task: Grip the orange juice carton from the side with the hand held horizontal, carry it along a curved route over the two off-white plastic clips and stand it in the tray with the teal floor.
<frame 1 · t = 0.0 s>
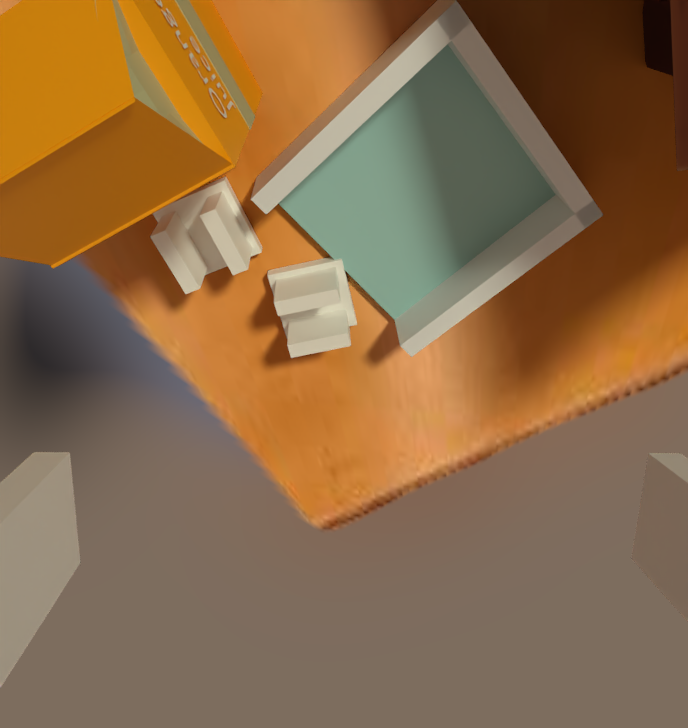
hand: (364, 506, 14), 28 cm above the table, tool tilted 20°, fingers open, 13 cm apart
tray: (412, 191, 38), on the table
orange juice: (160, 66, 34), on the table
clip 1: (209, 227, 39), on the table
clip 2: (313, 295, 42), on the table
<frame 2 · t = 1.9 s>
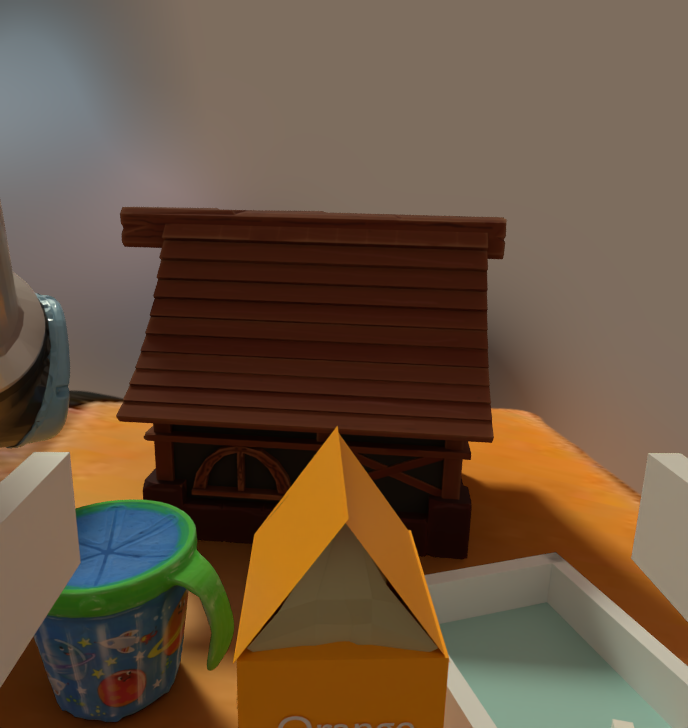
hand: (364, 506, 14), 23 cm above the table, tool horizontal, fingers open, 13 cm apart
tray: (527, 688, 40), on the table
snack cup: (119, 682, 39), on the table
house: (308, 499, 64), on the table
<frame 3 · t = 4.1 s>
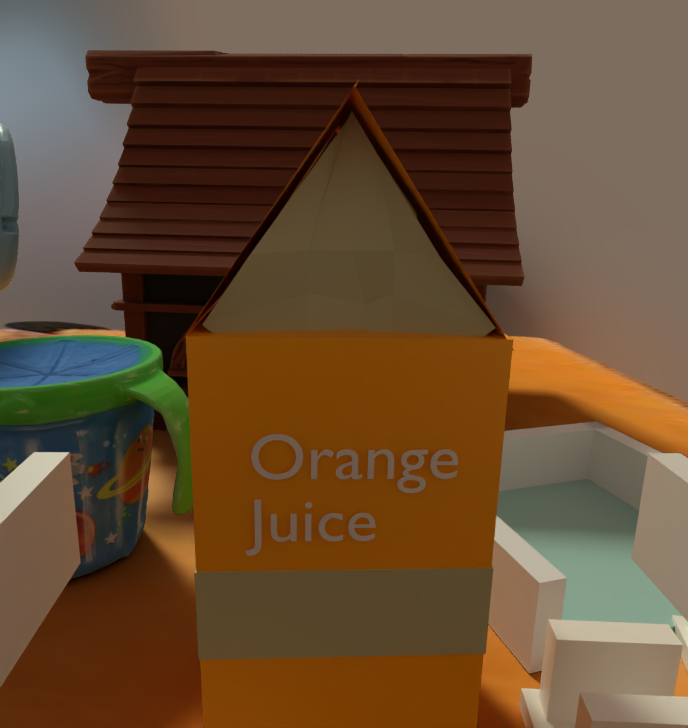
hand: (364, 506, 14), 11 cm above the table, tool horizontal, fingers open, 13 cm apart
tray: (574, 555, 32), on the table
orange juice: (332, 715, 22), on the table
snack cup: (68, 550, 32), on the table
house: (304, 401, 56), on the table
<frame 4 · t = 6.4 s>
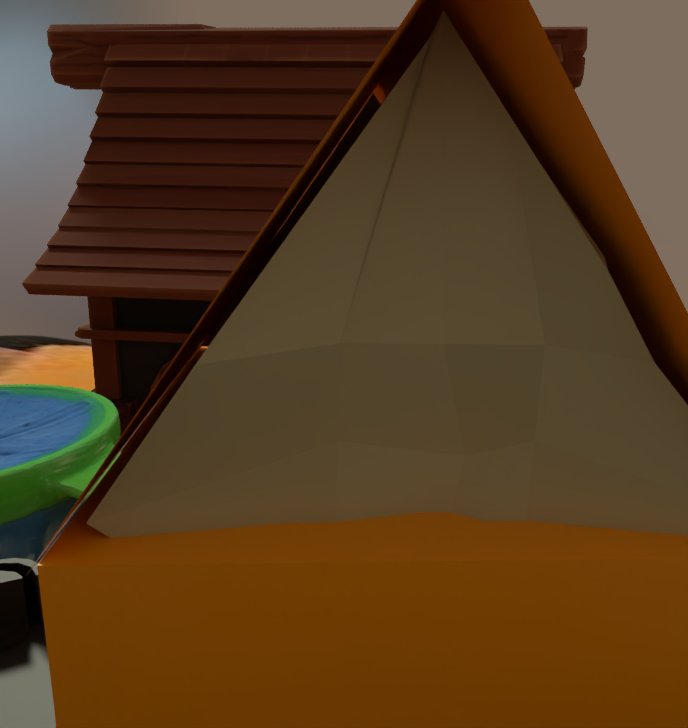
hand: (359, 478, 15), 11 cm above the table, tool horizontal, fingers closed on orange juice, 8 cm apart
house: (309, 439, 48), on the table
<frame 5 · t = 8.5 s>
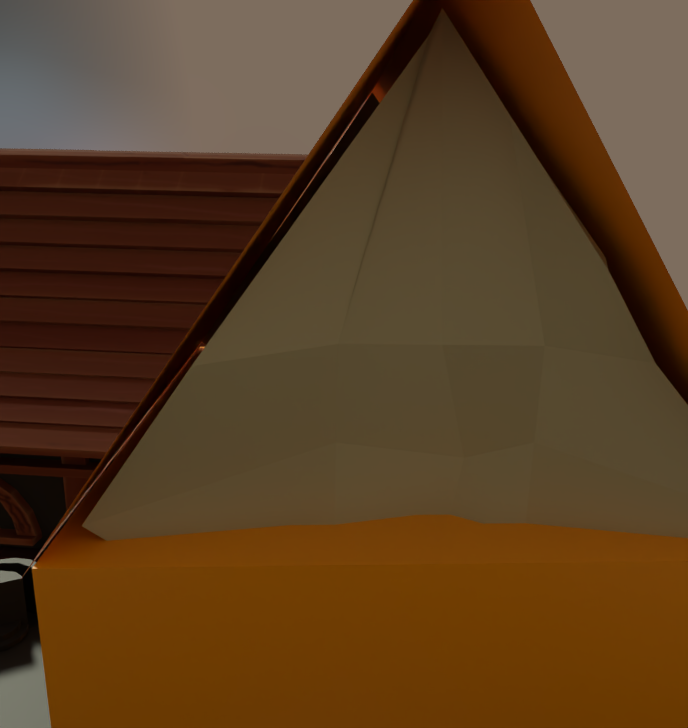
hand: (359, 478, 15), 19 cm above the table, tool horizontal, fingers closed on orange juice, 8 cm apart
house: (108, 534, 49), on the table
when the fingers open (13 cm above the table, at t = 10.8 s): orange juice drops 1 cm, resting on tray.
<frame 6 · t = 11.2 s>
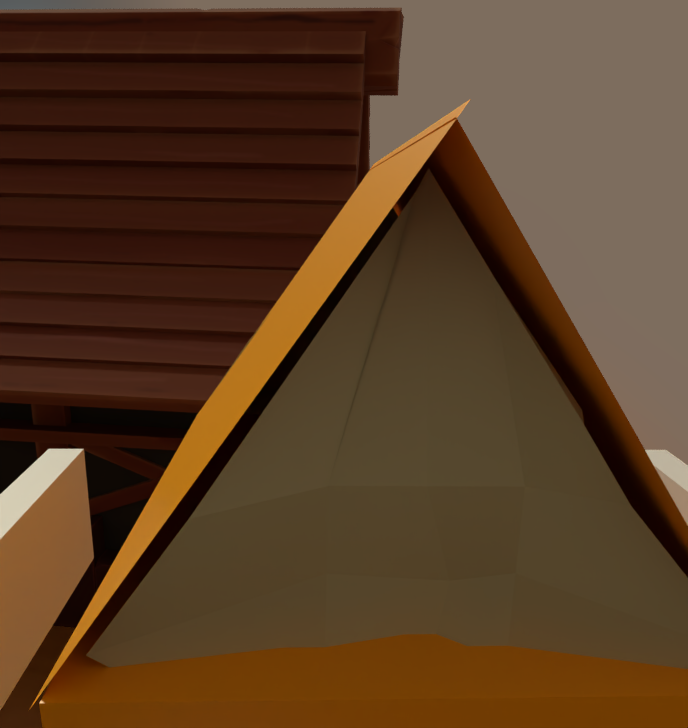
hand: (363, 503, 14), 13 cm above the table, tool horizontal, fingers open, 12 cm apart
house: (103, 526, 39), on the table
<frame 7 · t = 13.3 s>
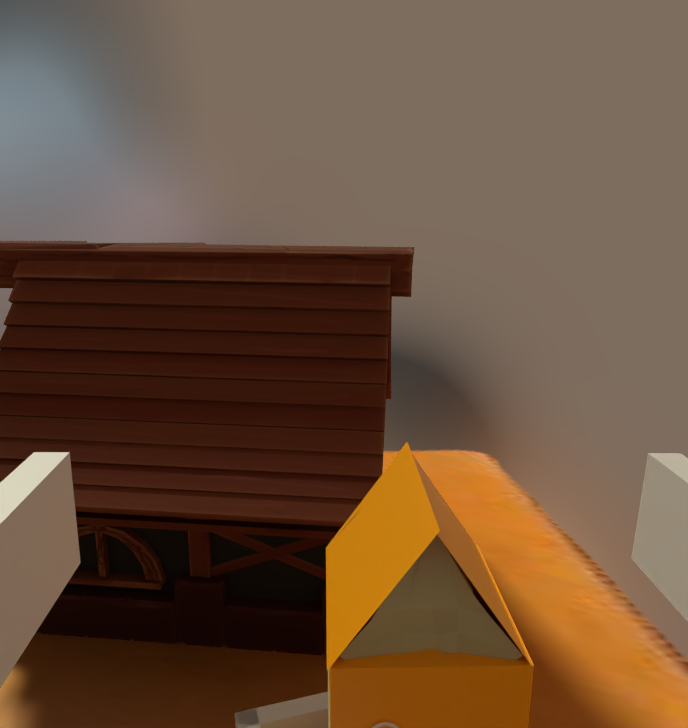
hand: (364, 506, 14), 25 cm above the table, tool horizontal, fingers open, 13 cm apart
house: (206, 574, 55), on the table
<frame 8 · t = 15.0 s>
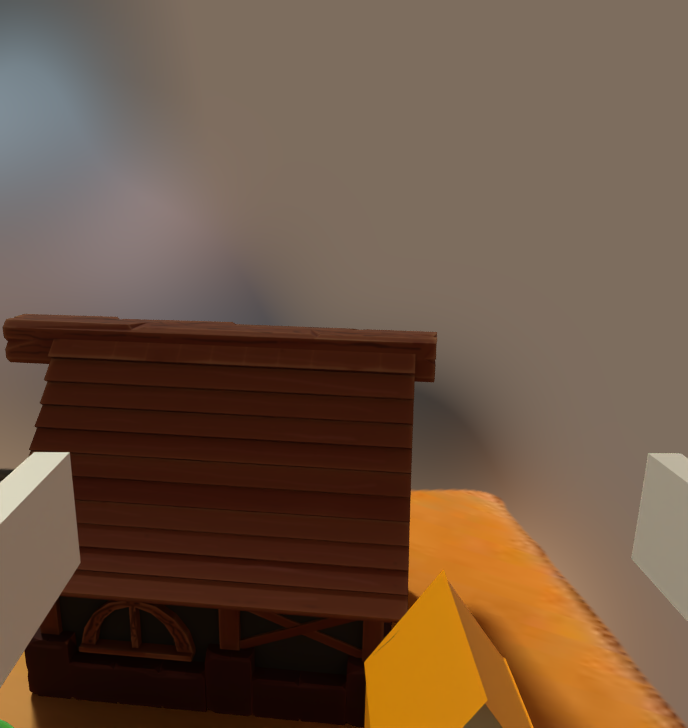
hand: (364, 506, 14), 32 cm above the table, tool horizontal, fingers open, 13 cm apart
house: (229, 631, 57), on the table
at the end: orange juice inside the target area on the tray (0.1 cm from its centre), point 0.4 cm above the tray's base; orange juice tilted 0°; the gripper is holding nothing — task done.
